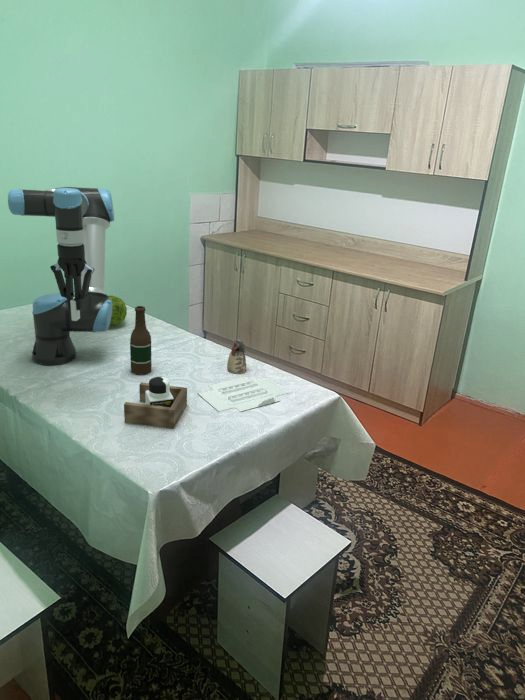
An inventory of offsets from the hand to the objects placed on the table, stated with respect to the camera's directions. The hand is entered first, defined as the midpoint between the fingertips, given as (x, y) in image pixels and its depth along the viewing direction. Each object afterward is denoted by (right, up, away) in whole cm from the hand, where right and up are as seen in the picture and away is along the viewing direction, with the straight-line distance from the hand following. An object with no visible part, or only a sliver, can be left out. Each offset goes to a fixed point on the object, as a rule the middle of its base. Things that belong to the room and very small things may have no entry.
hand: (75, 319), depth 165 cm
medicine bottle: (+26, -30, -2) cm, 40 cm away
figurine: (+48, -17, +32) cm, 60 cm away
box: (+25, -29, -1) cm, 38 cm away
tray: (+52, -25, +15) cm, 59 cm away
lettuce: (-11, +3, +70) cm, 71 cm away
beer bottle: (+14, -17, +26) cm, 34 cm away
